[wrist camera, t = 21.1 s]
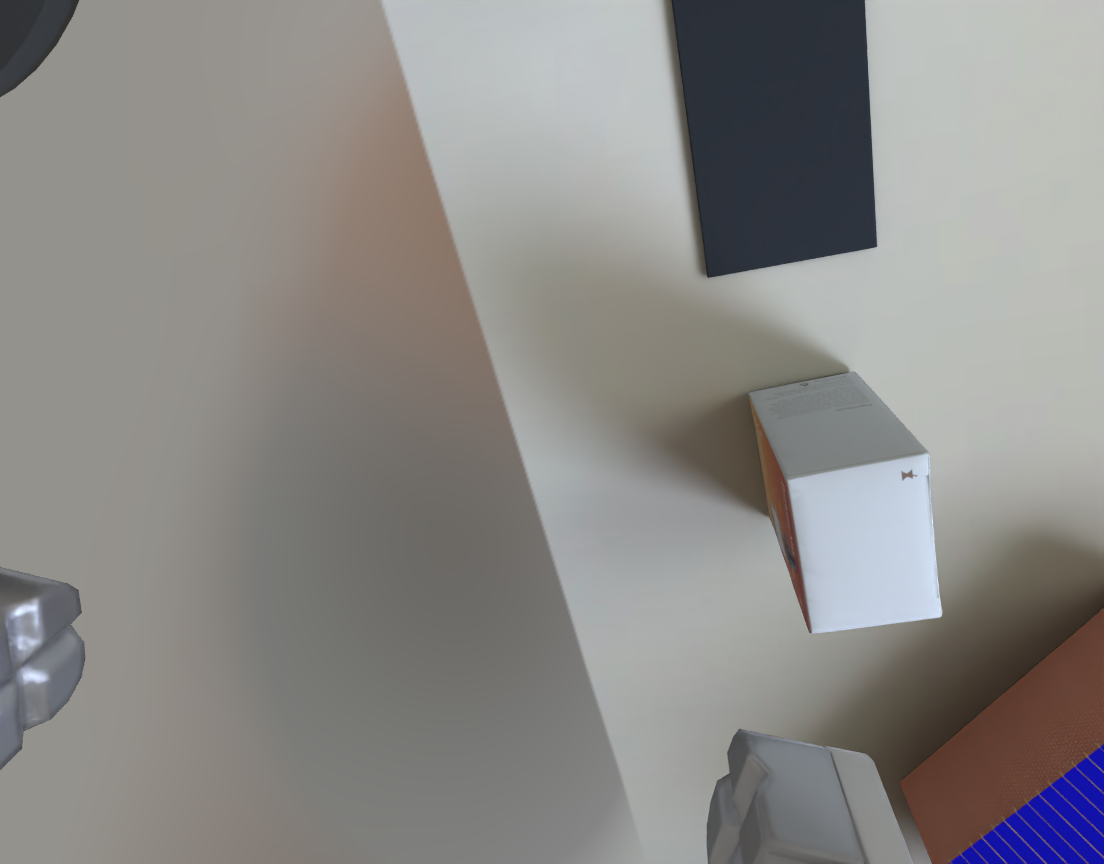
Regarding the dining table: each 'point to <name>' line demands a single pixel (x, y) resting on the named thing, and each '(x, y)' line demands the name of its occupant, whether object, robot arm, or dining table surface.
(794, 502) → the small box
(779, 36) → the strip
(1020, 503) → the dining table surface
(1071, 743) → the house
